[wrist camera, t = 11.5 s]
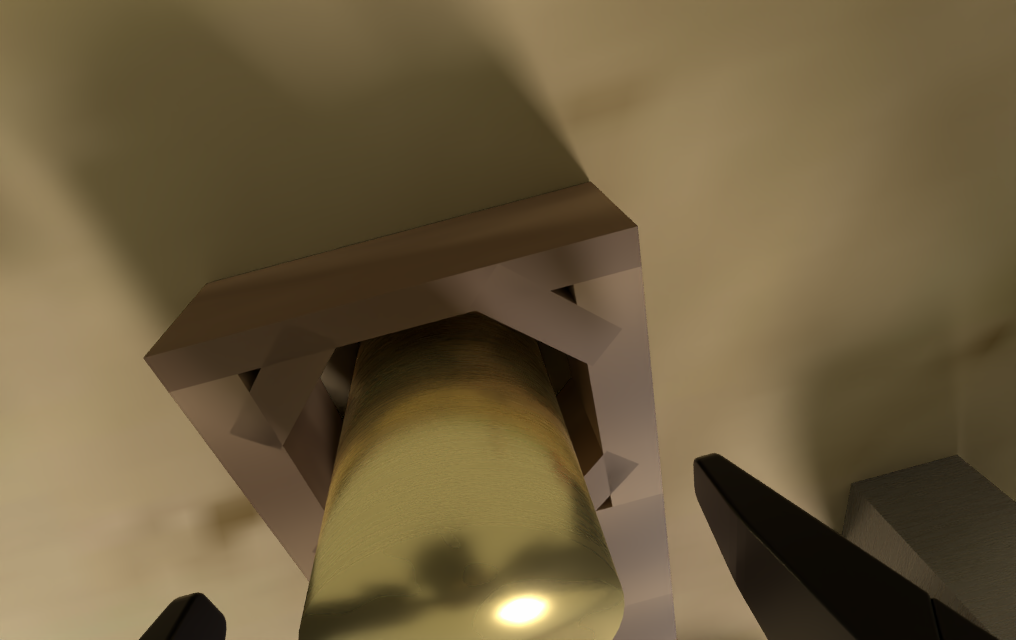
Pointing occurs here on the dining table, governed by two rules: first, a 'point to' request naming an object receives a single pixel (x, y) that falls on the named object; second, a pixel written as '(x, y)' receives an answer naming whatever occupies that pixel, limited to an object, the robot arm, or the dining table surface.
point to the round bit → (458, 499)
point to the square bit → (943, 537)
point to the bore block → (420, 300)
